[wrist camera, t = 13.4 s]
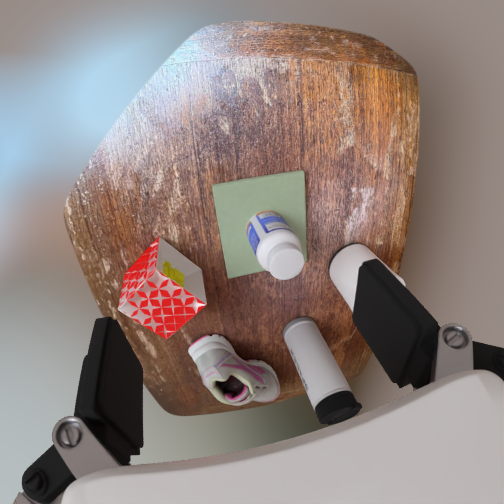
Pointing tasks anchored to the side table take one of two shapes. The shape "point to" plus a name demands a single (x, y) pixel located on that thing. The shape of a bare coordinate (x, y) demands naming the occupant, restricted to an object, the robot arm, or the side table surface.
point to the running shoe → (233, 372)
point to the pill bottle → (275, 244)
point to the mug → (351, 269)
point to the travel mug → (320, 372)
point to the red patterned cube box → (162, 289)
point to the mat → (251, 202)
